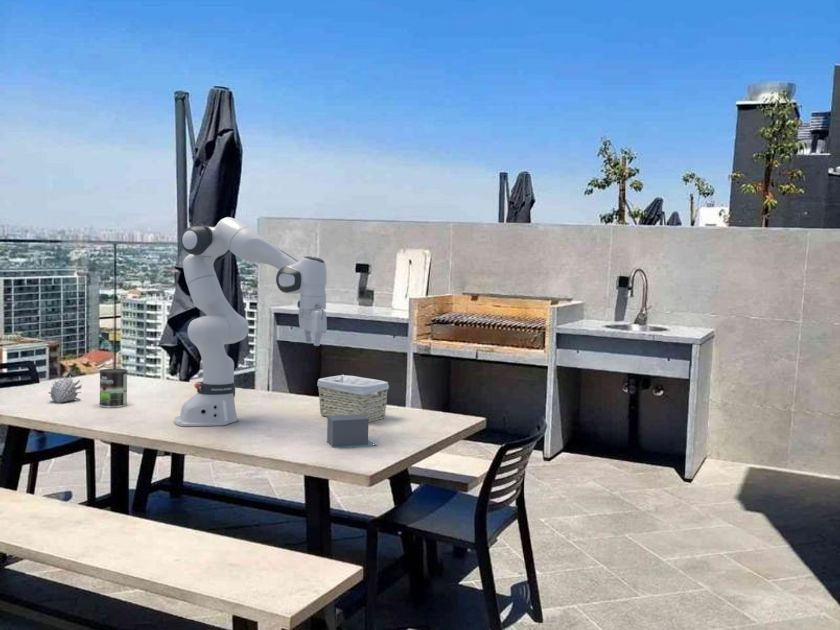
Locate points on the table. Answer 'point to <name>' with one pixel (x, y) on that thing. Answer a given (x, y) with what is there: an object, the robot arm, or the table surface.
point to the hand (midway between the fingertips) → (312, 344)
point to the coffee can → (113, 388)
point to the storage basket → (352, 396)
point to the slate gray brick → (347, 430)
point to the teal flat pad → (356, 445)
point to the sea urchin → (64, 390)
